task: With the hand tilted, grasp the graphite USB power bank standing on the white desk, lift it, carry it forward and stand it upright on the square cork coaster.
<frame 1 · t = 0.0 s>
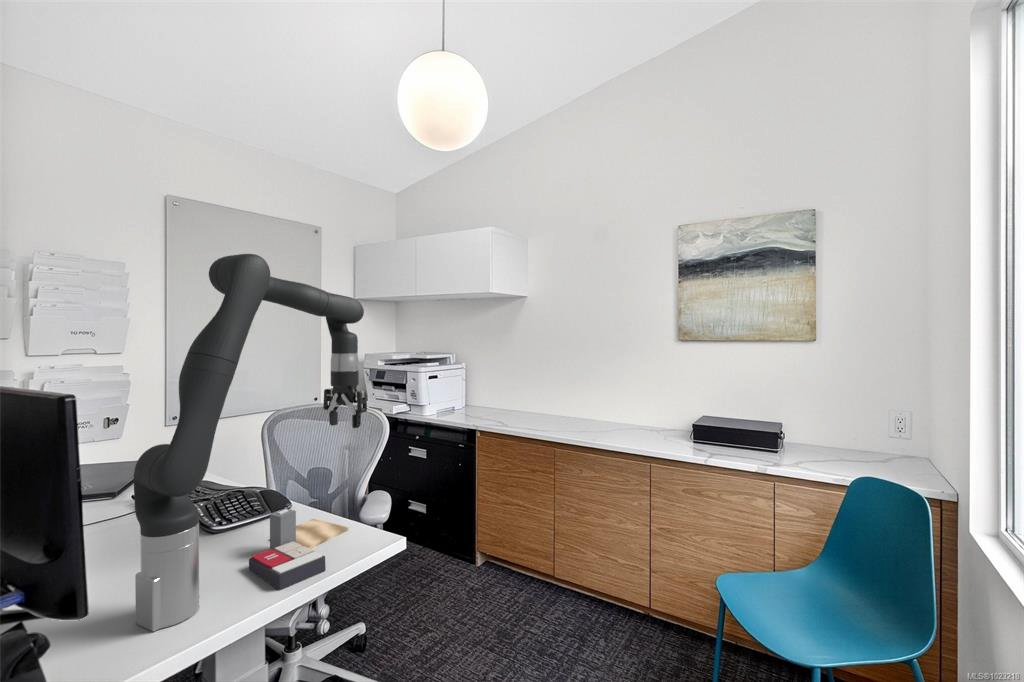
hand: (344, 426, 131), 29 cm above the table, tool pointing down, fingers open, 8 cm apart
red-tabbed grey slab: (287, 572, 108), on the table
power bank: (283, 551, 118), on the table
cork coaster: (310, 534, 127), on the table
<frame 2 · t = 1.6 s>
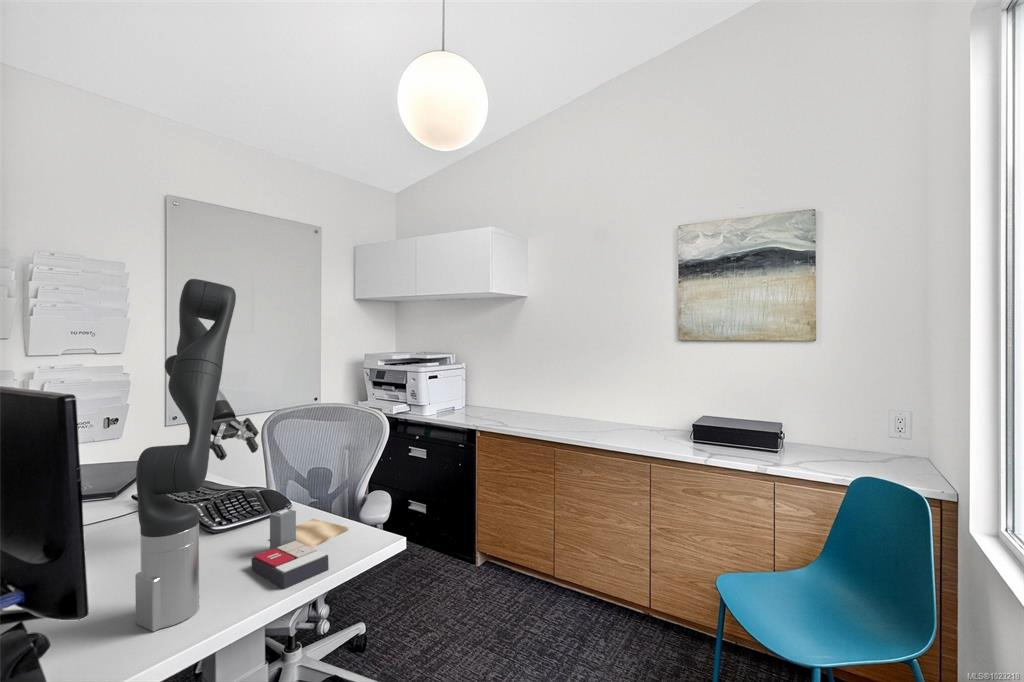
hand: (240, 454, 122), 24 cm above the table, tool tilted 45°, fingers open, 8 cm apart
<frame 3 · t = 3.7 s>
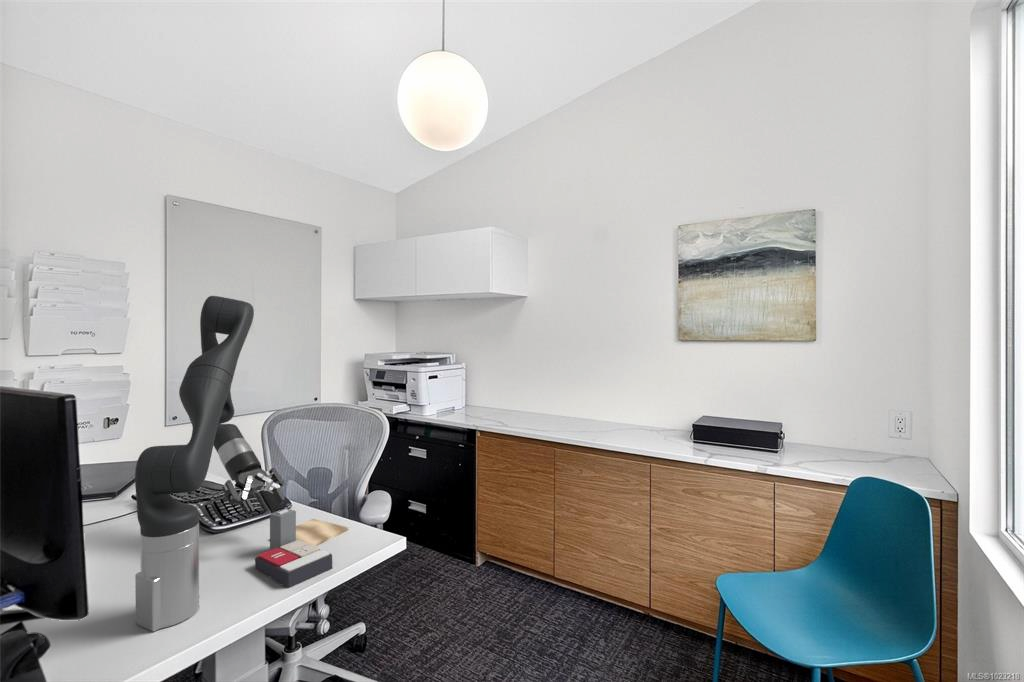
hand: (267, 508, 120), 10 cm above the table, tool tilted 45°, fingers open, 8 cm apart
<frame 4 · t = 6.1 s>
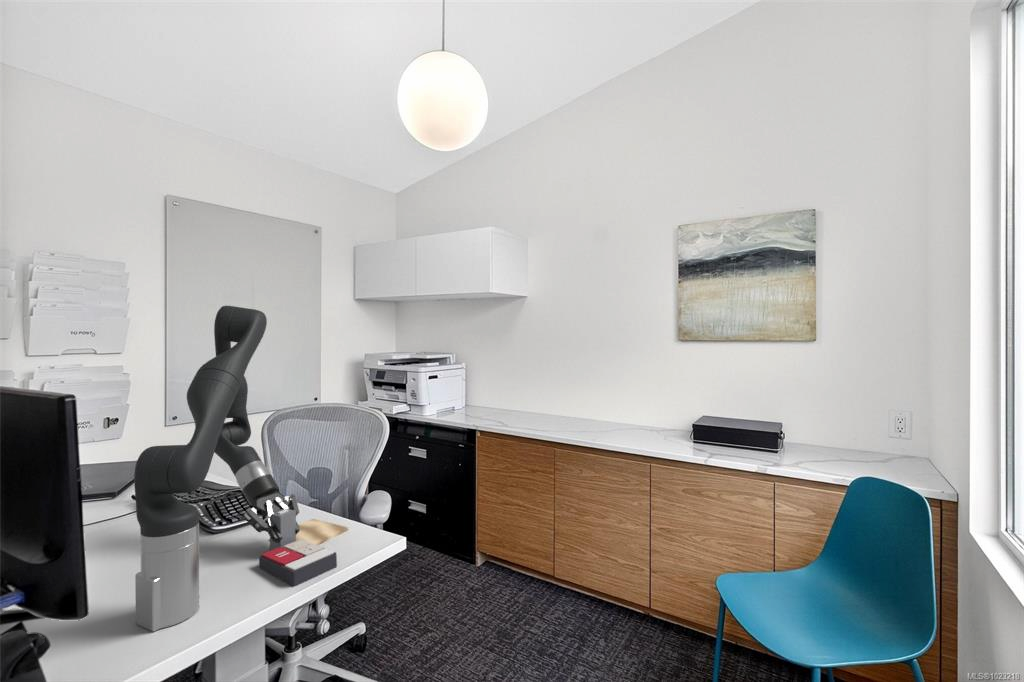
hand: (288, 536, 117), 4 cm above the table, tool tilted 45°, fingers closed on power bank, 4 cm apart
power bank: (283, 551, 118), on the table, touching gripper
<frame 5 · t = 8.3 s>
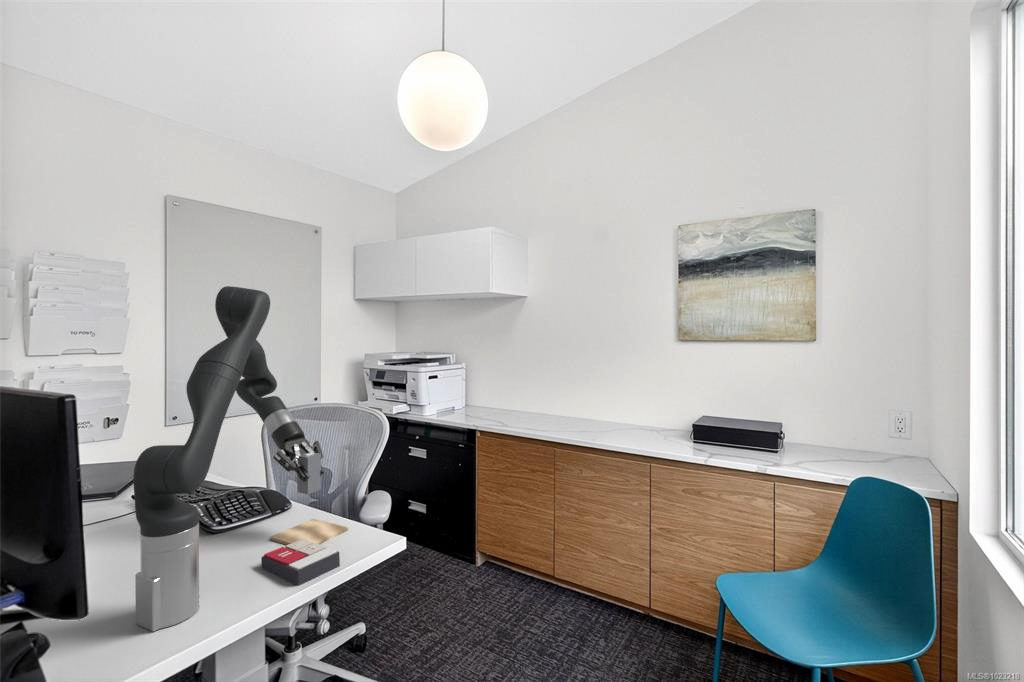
hand: (314, 476, 127), 16 cm above the table, tool tilted 45°, fingers closed on power bank, 4 cm apart
power bank: (309, 490, 127), point 12 cm above the table, touching gripper
when the fingers open (6 cm above the table, at t = 10.6 s): power bank drops 1 cm, resting on cork coaster.
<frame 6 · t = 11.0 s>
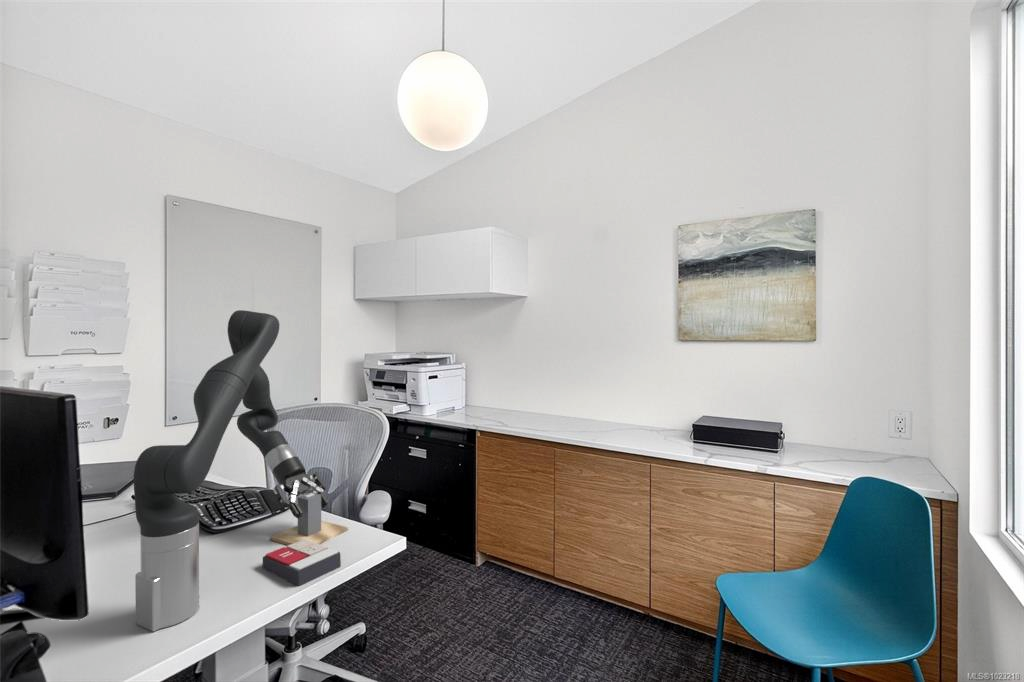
hand: (313, 511, 127), 7 cm above the table, tool tilted 45°, fingers open, 8 cm apart
power bank: (309, 532, 127), point 1 cm above the table, touching cork coaster
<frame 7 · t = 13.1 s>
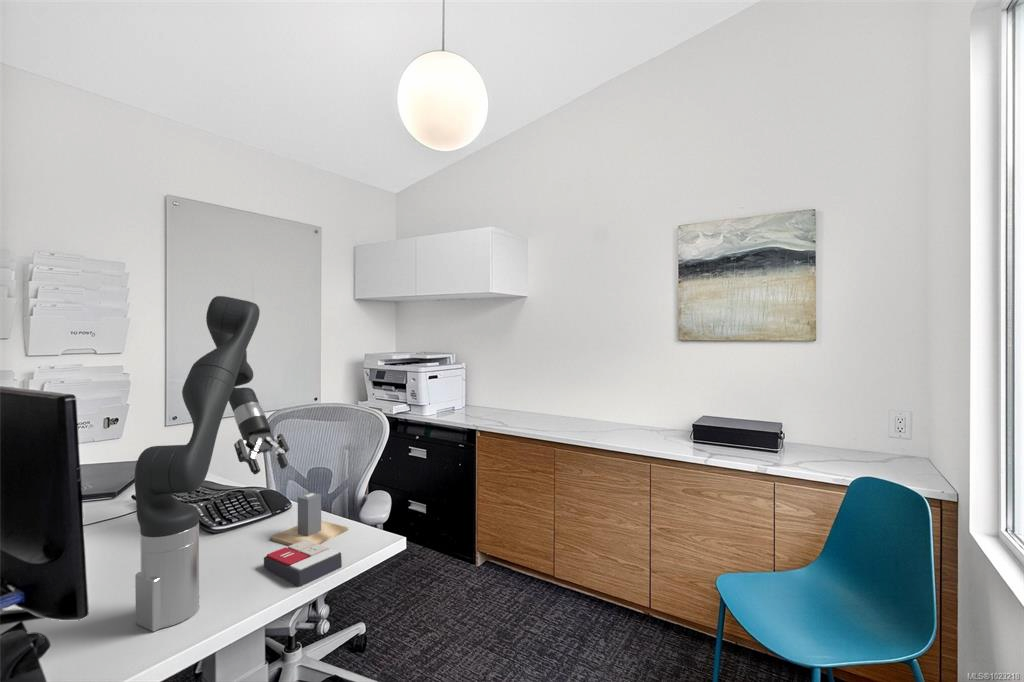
hand: (271, 470, 131), 17 cm above the table, tool tilted 35°, fingers open, 8 cm apart
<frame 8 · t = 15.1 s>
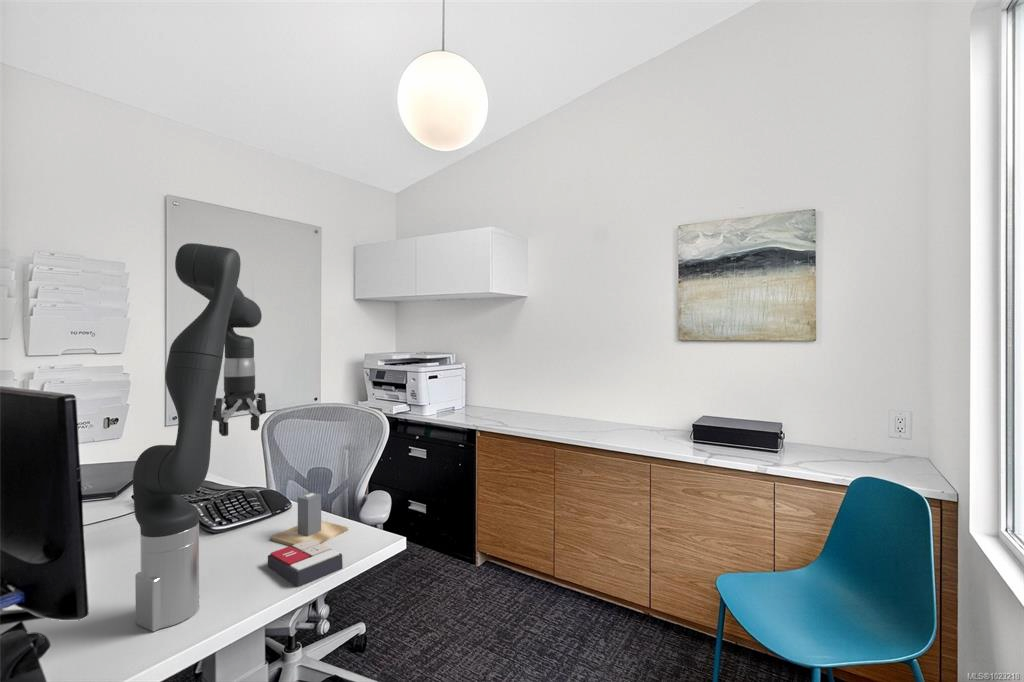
hand: (239, 432, 128), 28 cm above the table, tool pointing down, fingers open, 8 cm apart
at the end: power bank inside the target area on the cork coaster (0.1 cm from its centre), point 0.8 cm above the cork coaster's base; power bank tilted 0°; the gripper is holding nothing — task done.
